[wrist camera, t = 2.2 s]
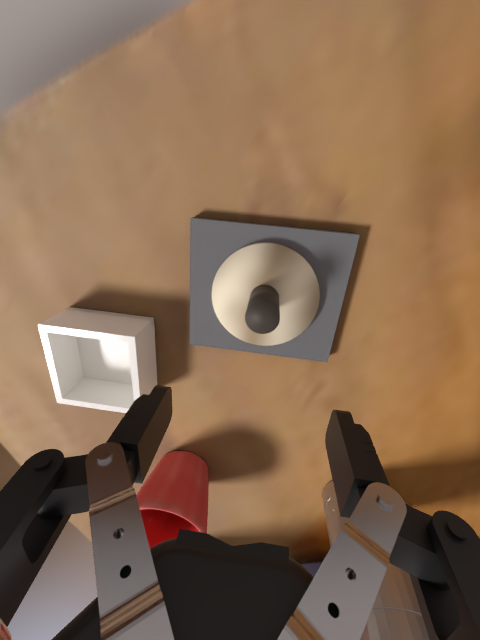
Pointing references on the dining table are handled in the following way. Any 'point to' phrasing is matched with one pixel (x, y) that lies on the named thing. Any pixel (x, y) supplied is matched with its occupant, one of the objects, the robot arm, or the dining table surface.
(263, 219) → the dining table surface
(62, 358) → the dish
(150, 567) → the robot arm
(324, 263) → the mat
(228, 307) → the lid
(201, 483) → the flower pot
